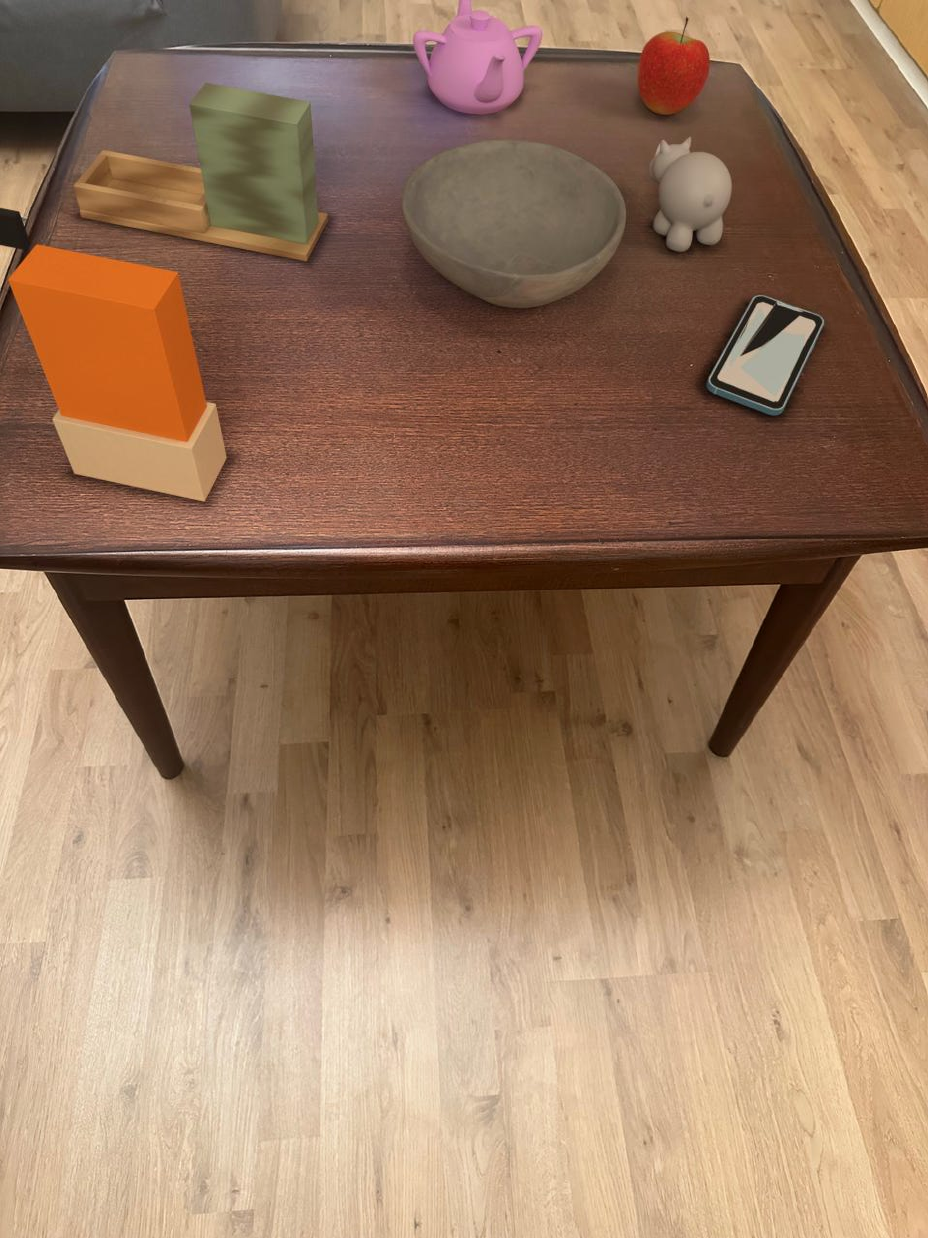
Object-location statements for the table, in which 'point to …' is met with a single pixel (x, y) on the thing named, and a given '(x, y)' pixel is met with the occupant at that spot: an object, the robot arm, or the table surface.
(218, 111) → the pad holder
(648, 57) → the apple
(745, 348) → the smartphone
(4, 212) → the robot arm
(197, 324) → the table surface
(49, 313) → the orange rectangular block
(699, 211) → the round bodied animal figurine
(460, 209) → the bowl
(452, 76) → the teapot
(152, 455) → the pad riser
